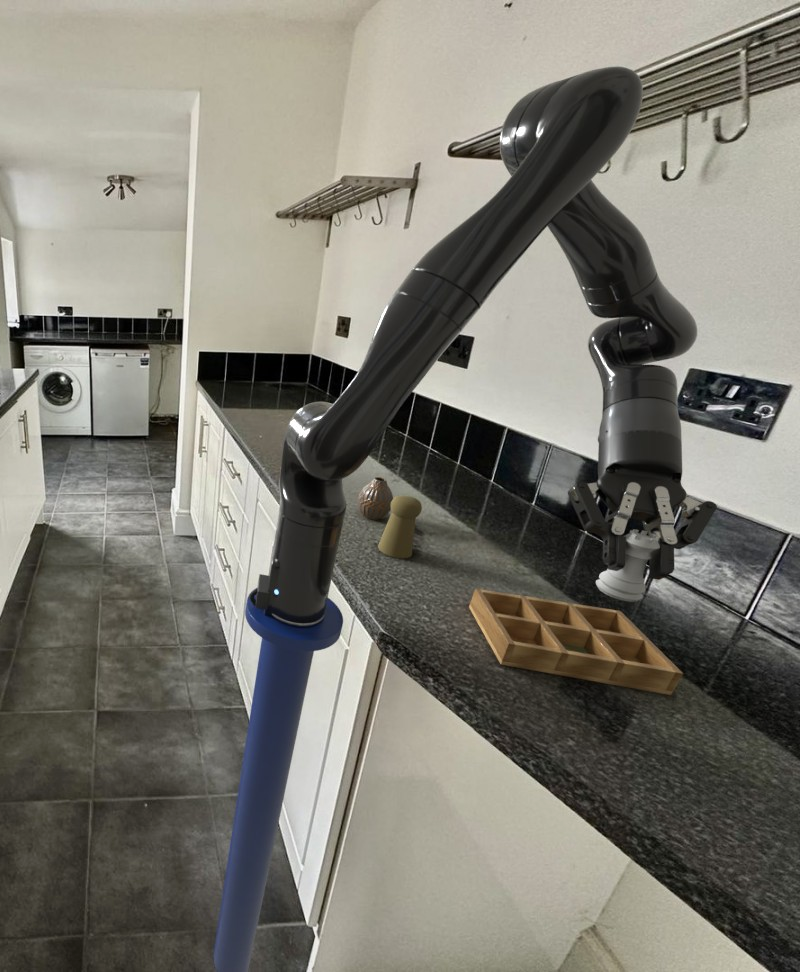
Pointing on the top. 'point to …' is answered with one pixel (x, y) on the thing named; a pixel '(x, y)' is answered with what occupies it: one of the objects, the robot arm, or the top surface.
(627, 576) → the rook chess piece
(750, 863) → the top surface
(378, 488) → the vase
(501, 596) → the grid
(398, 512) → the cork
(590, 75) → the robot arm
